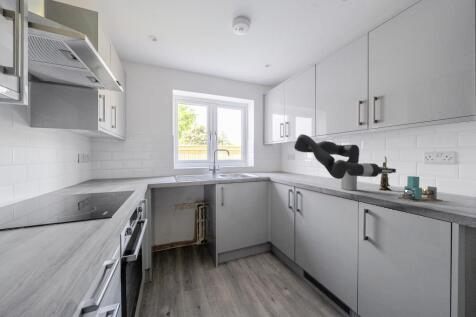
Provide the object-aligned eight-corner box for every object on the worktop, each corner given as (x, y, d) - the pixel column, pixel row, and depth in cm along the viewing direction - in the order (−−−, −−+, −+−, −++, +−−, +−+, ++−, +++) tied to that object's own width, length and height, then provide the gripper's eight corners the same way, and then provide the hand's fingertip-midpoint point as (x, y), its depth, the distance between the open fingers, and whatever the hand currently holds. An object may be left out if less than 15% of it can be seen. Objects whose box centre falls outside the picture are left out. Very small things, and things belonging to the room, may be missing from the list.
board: (411, 201, 106) (411, 200, 106) (397, 198, 114) (397, 197, 114) (442, 201, 108) (442, 199, 108) (426, 197, 116) (426, 196, 116)
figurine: (376, 189, 143) (377, 156, 143) (384, 188, 147) (385, 156, 147) (385, 191, 138) (386, 156, 137) (394, 190, 141) (395, 156, 141)
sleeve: (415, 199, 107) (416, 177, 107) (404, 196, 113) (404, 175, 113) (421, 199, 107) (422, 177, 107) (410, 196, 114) (410, 175, 114)
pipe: (409, 199, 108) (409, 187, 108) (402, 198, 112) (402, 186, 112) (436, 199, 110) (437, 187, 110) (429, 197, 114) (429, 186, 114)
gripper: (357, 175, 113) (384, 175, 115) (376, 178, 100) (406, 178, 102) (358, 162, 113) (384, 163, 115) (376, 163, 100) (406, 164, 102)
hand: (394, 170), depth 108 cm, fingers closed
